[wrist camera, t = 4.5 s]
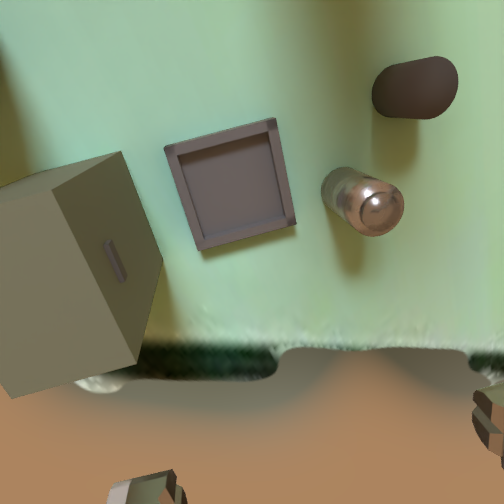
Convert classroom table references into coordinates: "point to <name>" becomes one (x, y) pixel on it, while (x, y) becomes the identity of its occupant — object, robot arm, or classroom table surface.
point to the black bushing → (416, 88)
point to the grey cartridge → (363, 201)
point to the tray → (232, 183)
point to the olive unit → (73, 274)
